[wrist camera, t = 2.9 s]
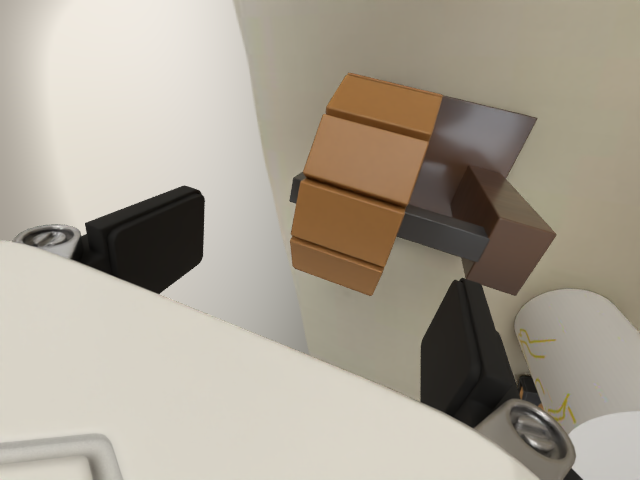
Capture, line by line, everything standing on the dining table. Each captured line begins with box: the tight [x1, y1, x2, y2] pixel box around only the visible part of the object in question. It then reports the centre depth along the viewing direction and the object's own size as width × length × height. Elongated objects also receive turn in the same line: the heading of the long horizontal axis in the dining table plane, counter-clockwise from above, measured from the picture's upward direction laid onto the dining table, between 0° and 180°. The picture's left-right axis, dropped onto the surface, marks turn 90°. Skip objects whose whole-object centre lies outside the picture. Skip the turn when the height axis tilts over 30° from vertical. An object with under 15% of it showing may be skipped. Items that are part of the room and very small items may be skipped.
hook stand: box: [290, 96, 556, 296], centre depth 21 cm, size 12×13×13 cm
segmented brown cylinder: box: [290, 73, 443, 296], centre depth 19 cm, size 12×5×12 cm, turn 168°
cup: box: [514, 289, 640, 480], centre depth 23 cm, size 8×8×12 cm
